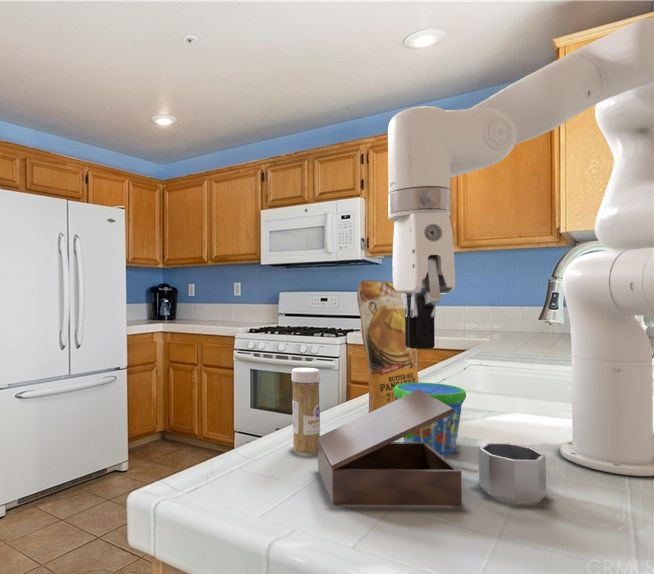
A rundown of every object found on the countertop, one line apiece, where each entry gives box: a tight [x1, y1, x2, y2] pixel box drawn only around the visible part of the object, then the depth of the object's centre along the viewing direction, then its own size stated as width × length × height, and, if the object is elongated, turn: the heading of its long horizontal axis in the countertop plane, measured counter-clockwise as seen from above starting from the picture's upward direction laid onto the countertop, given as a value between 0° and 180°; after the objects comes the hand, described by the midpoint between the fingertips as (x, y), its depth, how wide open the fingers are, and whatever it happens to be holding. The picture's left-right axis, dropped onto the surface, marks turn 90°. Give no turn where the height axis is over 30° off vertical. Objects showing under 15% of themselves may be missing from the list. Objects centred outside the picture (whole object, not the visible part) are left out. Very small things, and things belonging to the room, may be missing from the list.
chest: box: [317, 441, 463, 507], centre depth 64 cm, size 15×11×5 cm
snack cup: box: [394, 382, 467, 456], centre depth 80 cm, size 16×10×10 cm
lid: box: [317, 390, 455, 470], centre depth 64 cm, size 16×11×1 cm
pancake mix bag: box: [356, 279, 419, 413], centre depth 100 cm, size 7×19×28 cm, turn 125°
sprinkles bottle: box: [291, 367, 321, 455], centre depth 79 cm, size 5×5×14 cm
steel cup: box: [478, 442, 547, 503], centre depth 62 cm, size 7×7×6 cm
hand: (419, 347), depth 64 cm, fingers closed
